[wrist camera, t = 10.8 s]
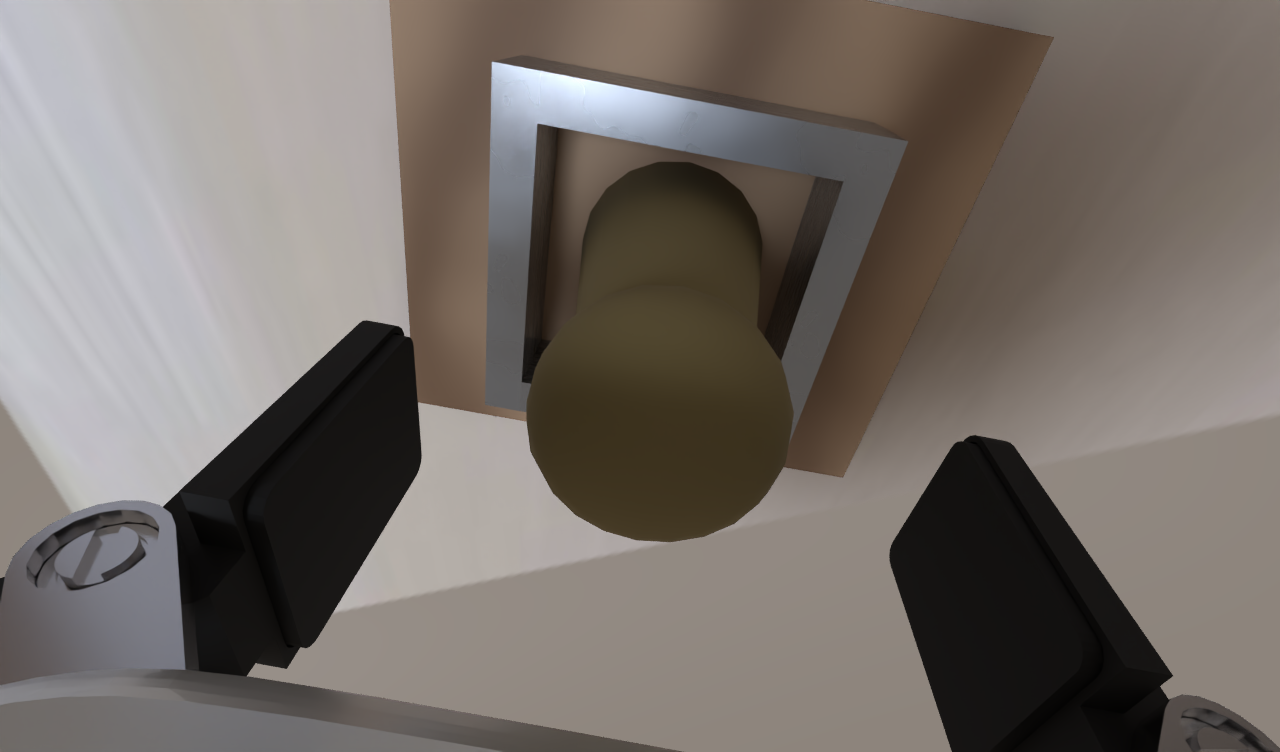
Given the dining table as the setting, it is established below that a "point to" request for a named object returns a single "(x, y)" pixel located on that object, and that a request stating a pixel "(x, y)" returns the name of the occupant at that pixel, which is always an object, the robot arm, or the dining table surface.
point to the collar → (687, 121)
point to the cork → (663, 364)
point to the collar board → (703, 162)
